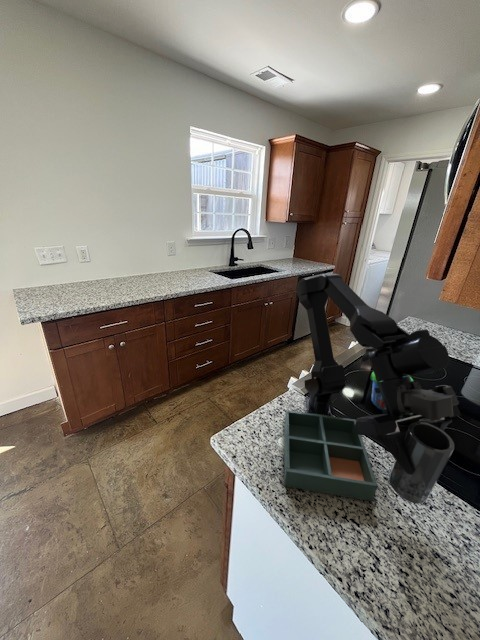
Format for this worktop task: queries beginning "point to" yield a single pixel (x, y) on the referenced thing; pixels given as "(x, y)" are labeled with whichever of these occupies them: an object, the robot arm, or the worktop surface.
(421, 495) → the grey tumbler
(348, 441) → the divided compartment tray
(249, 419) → the worktop surface
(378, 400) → the snack cup
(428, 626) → the worktop surface
